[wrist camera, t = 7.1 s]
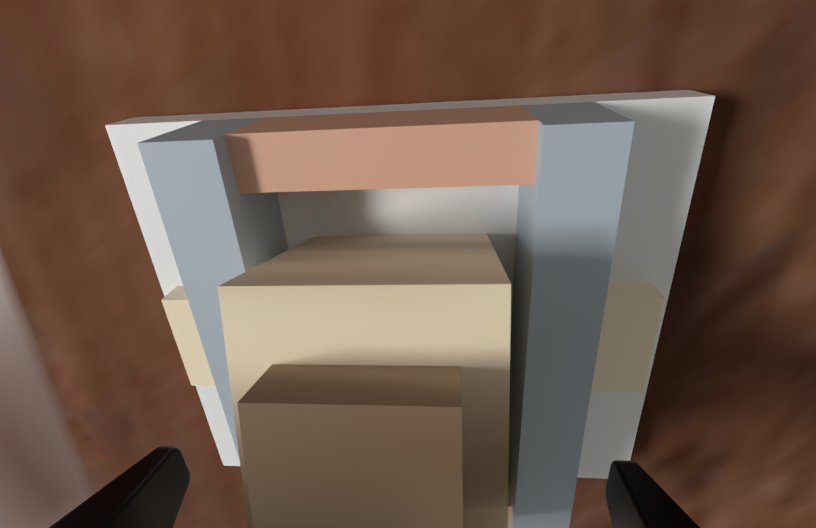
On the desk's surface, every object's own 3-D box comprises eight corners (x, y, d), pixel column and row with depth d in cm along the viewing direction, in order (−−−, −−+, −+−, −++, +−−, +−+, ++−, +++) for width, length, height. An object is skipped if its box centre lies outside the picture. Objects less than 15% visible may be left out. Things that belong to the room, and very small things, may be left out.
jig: (614, 449, 16) (656, 556, 13) (237, 439, 17) (187, 533, 14) (689, 89, 11) (794, 114, 7) (135, 117, 12) (17, 147, 9)
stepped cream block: (485, 505, 13) (513, 795, 7) (334, 499, 14) (240, 766, 8) (486, 233, 11) (523, 309, 5) (313, 236, 12) (171, 310, 6)
